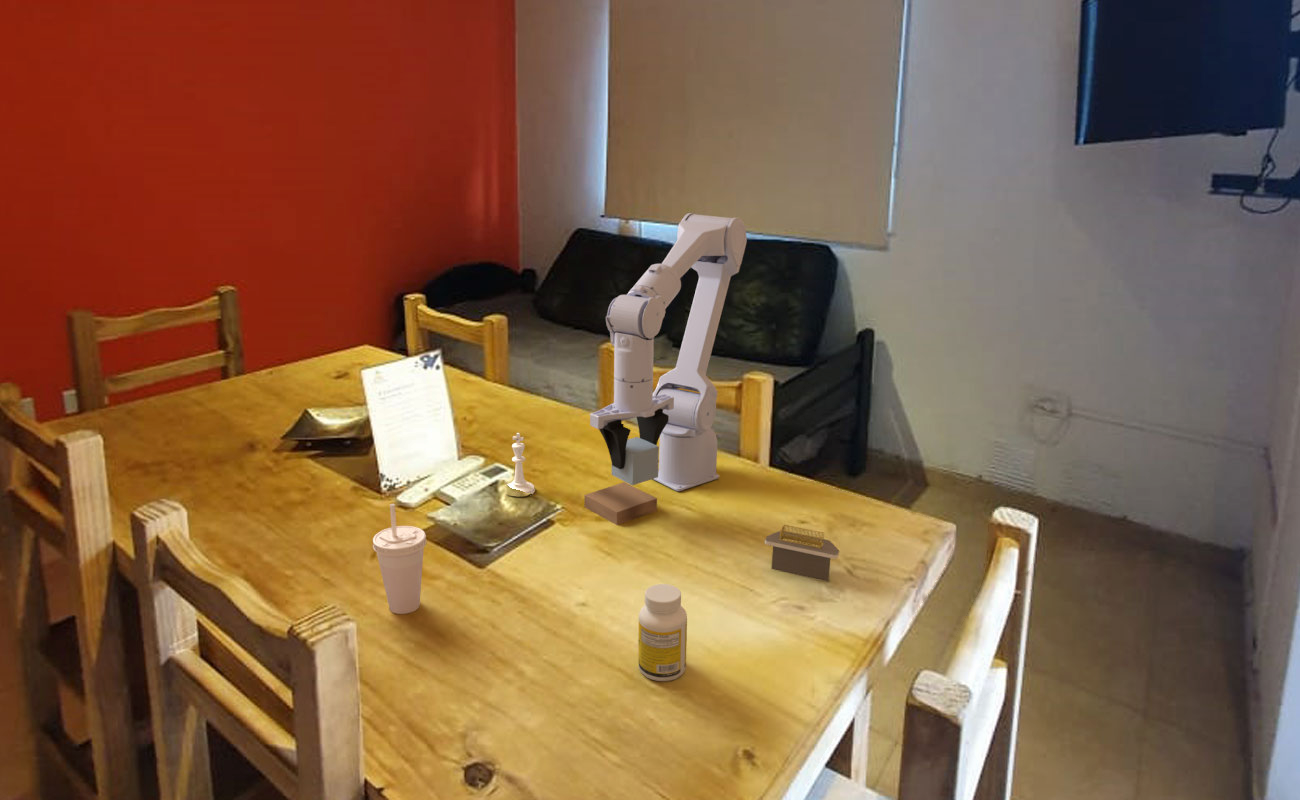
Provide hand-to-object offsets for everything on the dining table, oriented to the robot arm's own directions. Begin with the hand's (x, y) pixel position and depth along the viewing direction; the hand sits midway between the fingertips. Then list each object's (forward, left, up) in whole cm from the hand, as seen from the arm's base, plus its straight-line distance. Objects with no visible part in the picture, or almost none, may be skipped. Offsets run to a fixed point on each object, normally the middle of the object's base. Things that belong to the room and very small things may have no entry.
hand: (632, 462), depth 142 cm
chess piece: (+10, -17, -9) cm, 21 cm away
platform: (-7, +29, -9) cm, 31 cm away
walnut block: (+1, -2, -9) cm, 9 cm away
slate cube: (0, +1, -2) cm, 2 cm away
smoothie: (+40, +4, -9) cm, 41 cm away
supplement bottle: (+23, +34, -9) cm, 42 cm away
